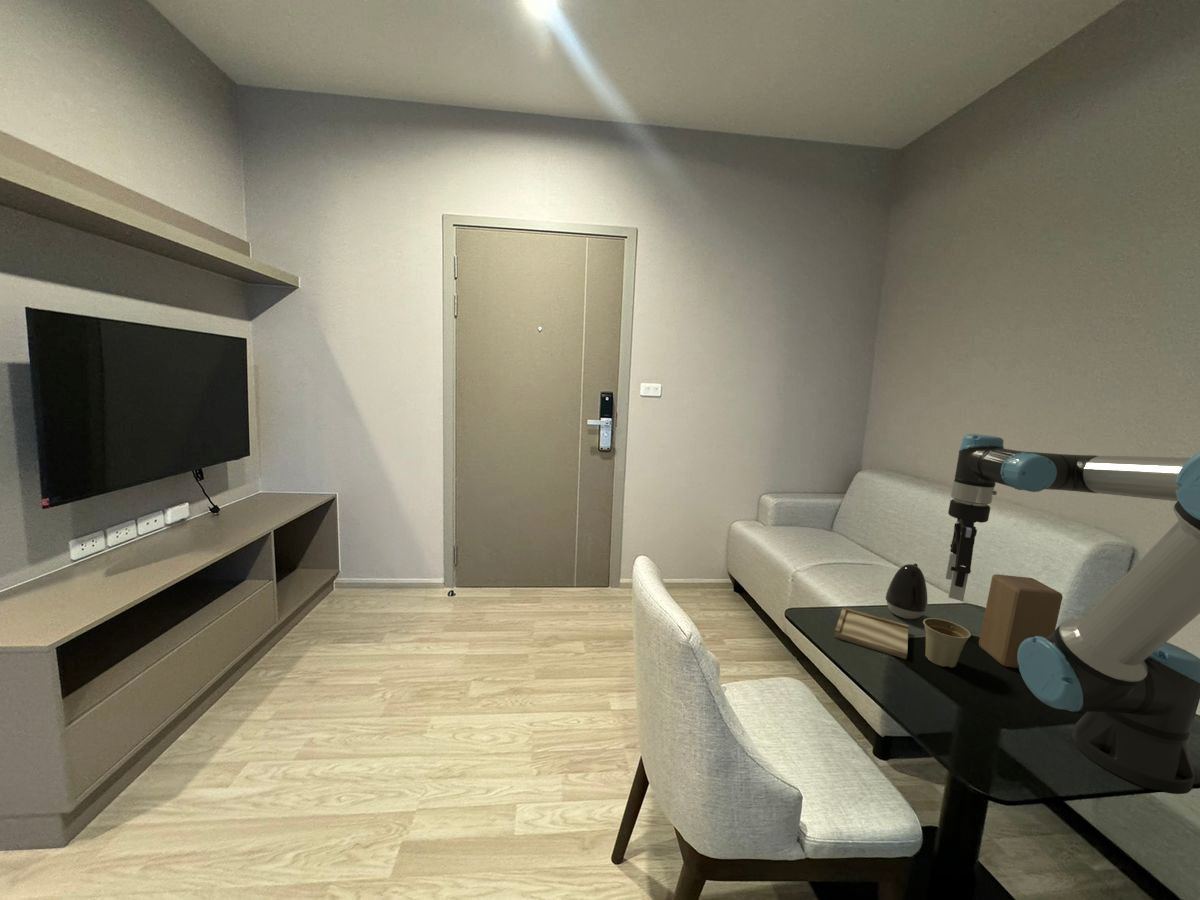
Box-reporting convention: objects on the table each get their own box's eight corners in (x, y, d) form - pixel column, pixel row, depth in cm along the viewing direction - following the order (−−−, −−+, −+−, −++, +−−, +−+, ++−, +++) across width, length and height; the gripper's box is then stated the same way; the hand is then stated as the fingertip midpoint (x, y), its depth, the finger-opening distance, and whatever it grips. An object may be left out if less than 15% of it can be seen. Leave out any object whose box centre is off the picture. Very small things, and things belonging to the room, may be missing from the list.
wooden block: (1017, 650, 128) (1033, 576, 125) (1047, 673, 118) (1065, 593, 115) (976, 645, 129) (990, 572, 126) (1002, 668, 119) (1019, 589, 116)
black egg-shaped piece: (928, 616, 144) (937, 566, 142) (920, 627, 137) (929, 575, 134) (889, 603, 151) (897, 555, 149) (879, 613, 144) (887, 563, 141)
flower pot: (916, 645, 127) (922, 614, 125) (961, 658, 122) (968, 625, 121) (918, 663, 119) (924, 629, 117) (966, 677, 114) (973, 642, 113)
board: (906, 659, 120) (907, 651, 120) (834, 637, 128) (835, 629, 128) (907, 632, 133) (908, 625, 133) (841, 614, 142) (842, 607, 141)
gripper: (998, 516, 102) (978, 613, 105) (984, 495, 123) (968, 576, 126) (954, 509, 106) (936, 602, 109) (948, 489, 127) (933, 568, 130)
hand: (953, 589), depth 118 cm, fingers open, 13 cm apart
